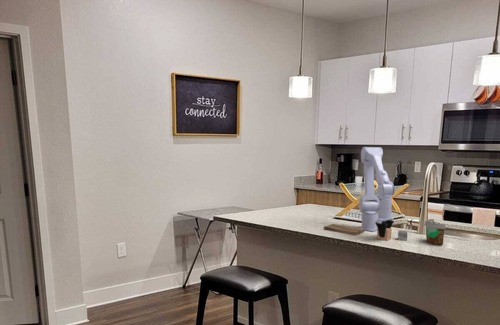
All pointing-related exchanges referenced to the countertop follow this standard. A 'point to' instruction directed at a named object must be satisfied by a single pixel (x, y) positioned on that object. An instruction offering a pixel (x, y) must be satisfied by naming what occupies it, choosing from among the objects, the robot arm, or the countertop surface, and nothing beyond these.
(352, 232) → the board
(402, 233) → the grey block
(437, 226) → the food container
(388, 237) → the cube
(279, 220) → the countertop surface
